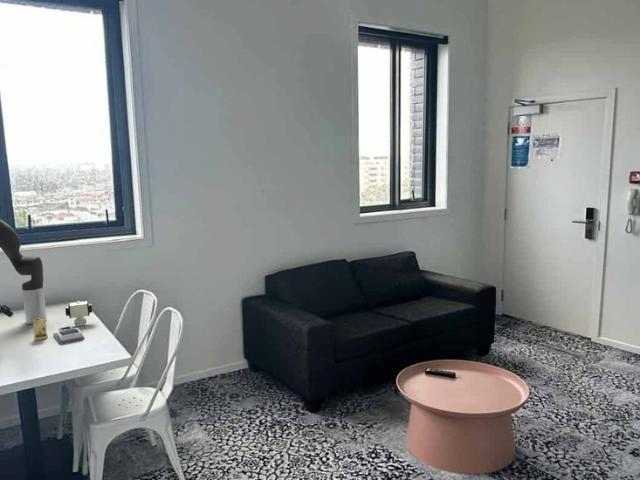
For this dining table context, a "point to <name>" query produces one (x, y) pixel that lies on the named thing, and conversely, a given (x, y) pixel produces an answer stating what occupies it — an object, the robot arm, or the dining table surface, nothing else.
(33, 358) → the dining table surface
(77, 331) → the plate
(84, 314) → the pneumatic valve
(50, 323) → the dining table surface
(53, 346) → the dining table surface
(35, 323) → the brass fitting
